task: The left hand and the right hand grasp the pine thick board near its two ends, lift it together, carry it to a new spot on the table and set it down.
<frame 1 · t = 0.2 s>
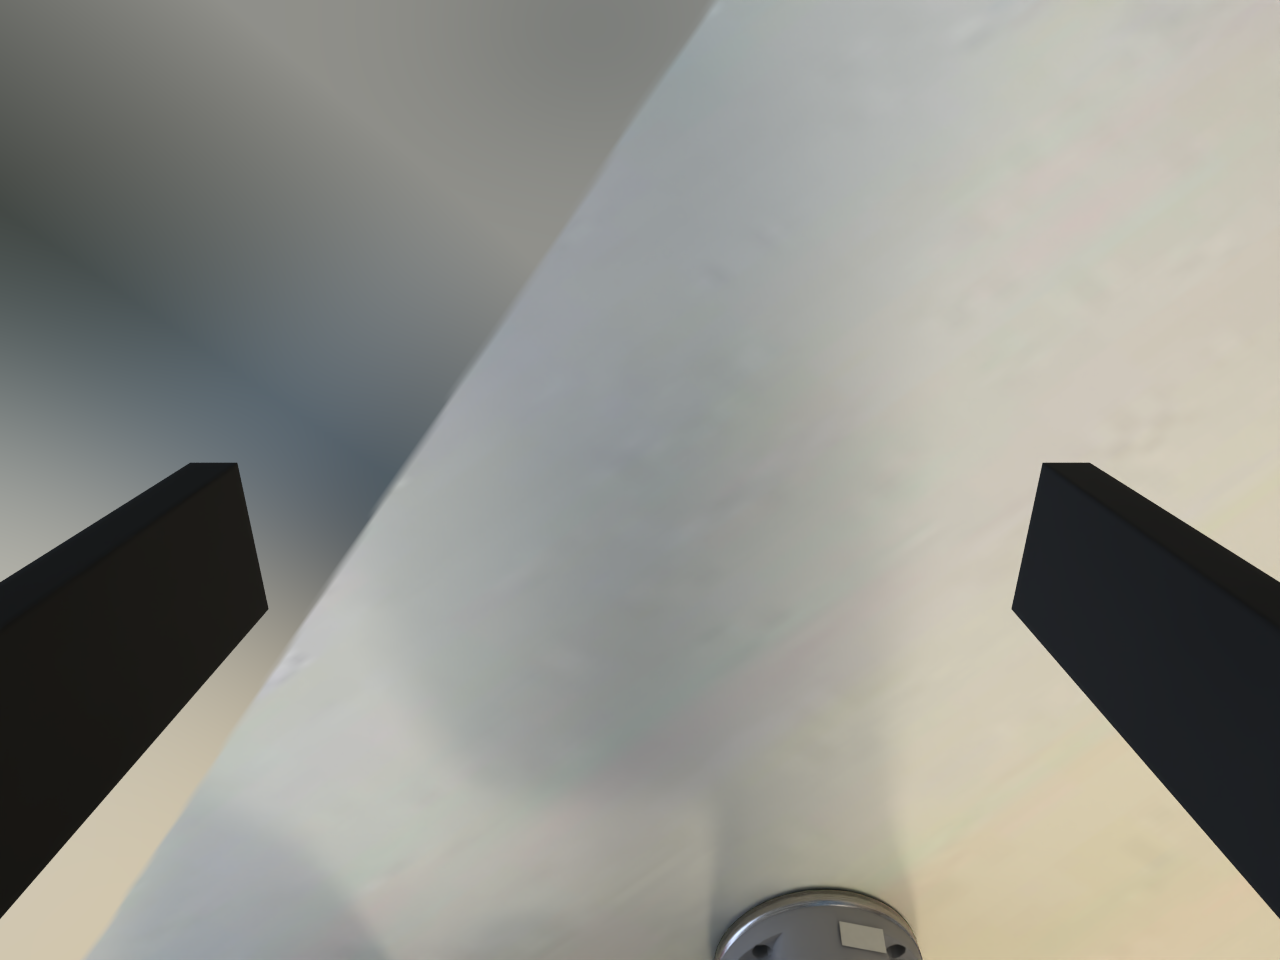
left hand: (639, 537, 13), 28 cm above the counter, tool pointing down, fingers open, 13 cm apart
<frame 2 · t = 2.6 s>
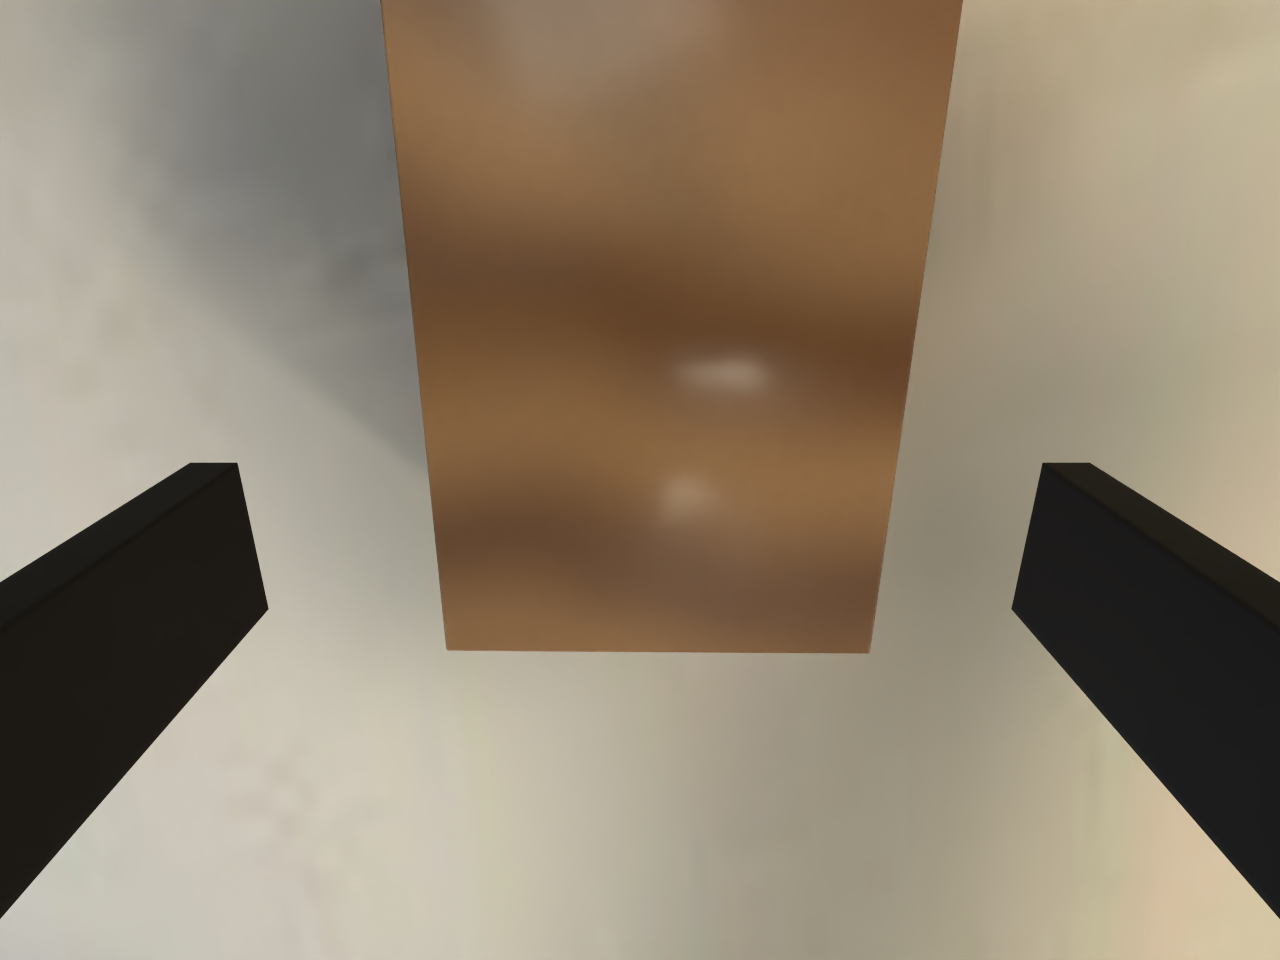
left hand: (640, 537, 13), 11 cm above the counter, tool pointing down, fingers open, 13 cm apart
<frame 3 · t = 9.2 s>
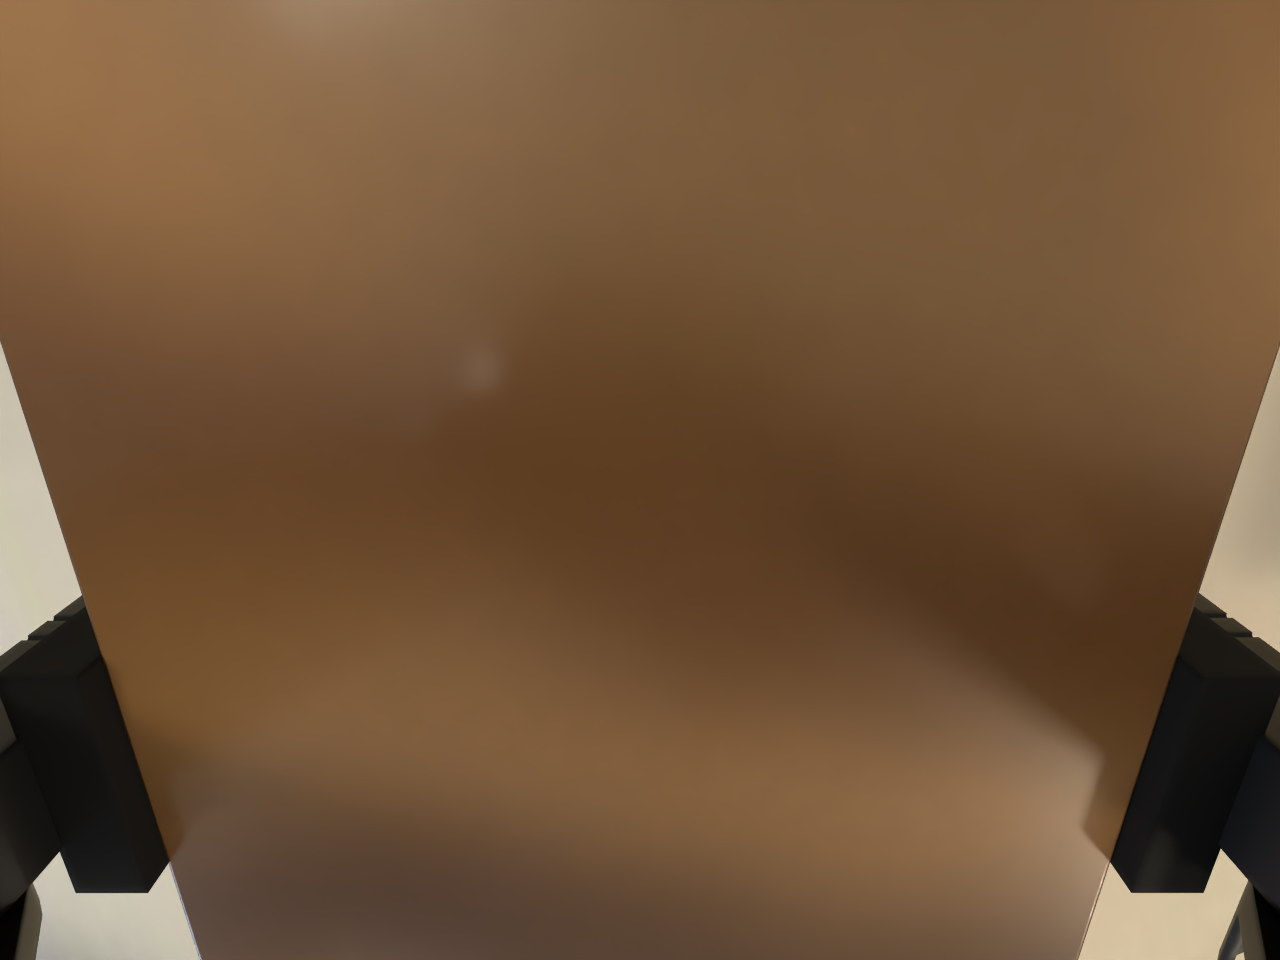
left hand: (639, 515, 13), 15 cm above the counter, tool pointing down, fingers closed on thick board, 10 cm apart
when the left hand's fingers open (2 cm above the counter, at t = 11.2 s): thick board stays where it is, on the counter.
when the right hand's fingers open (2 cm above the counter, at t = 11.2 s): thick board stays where it is, on the counter.
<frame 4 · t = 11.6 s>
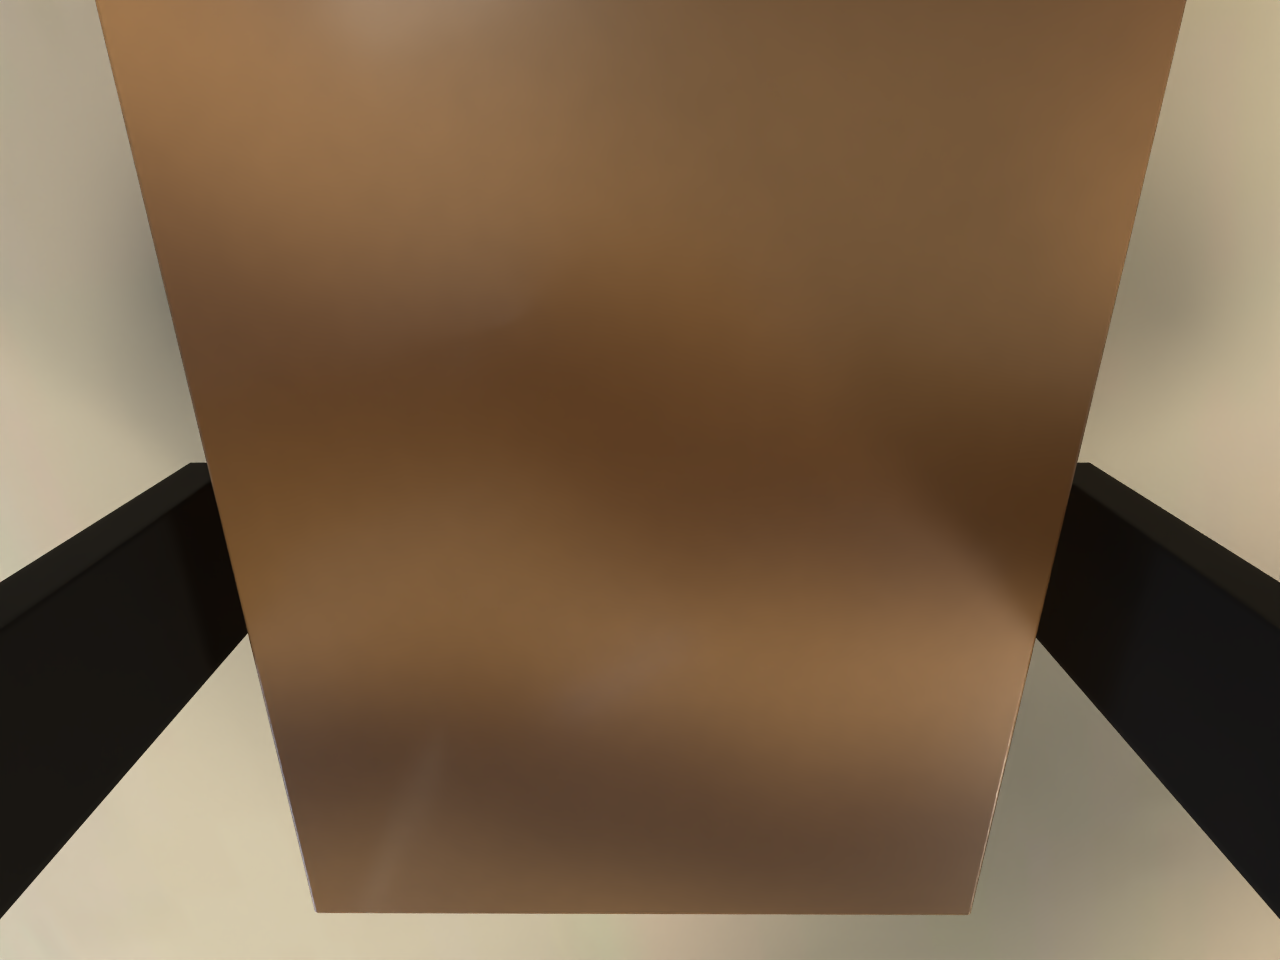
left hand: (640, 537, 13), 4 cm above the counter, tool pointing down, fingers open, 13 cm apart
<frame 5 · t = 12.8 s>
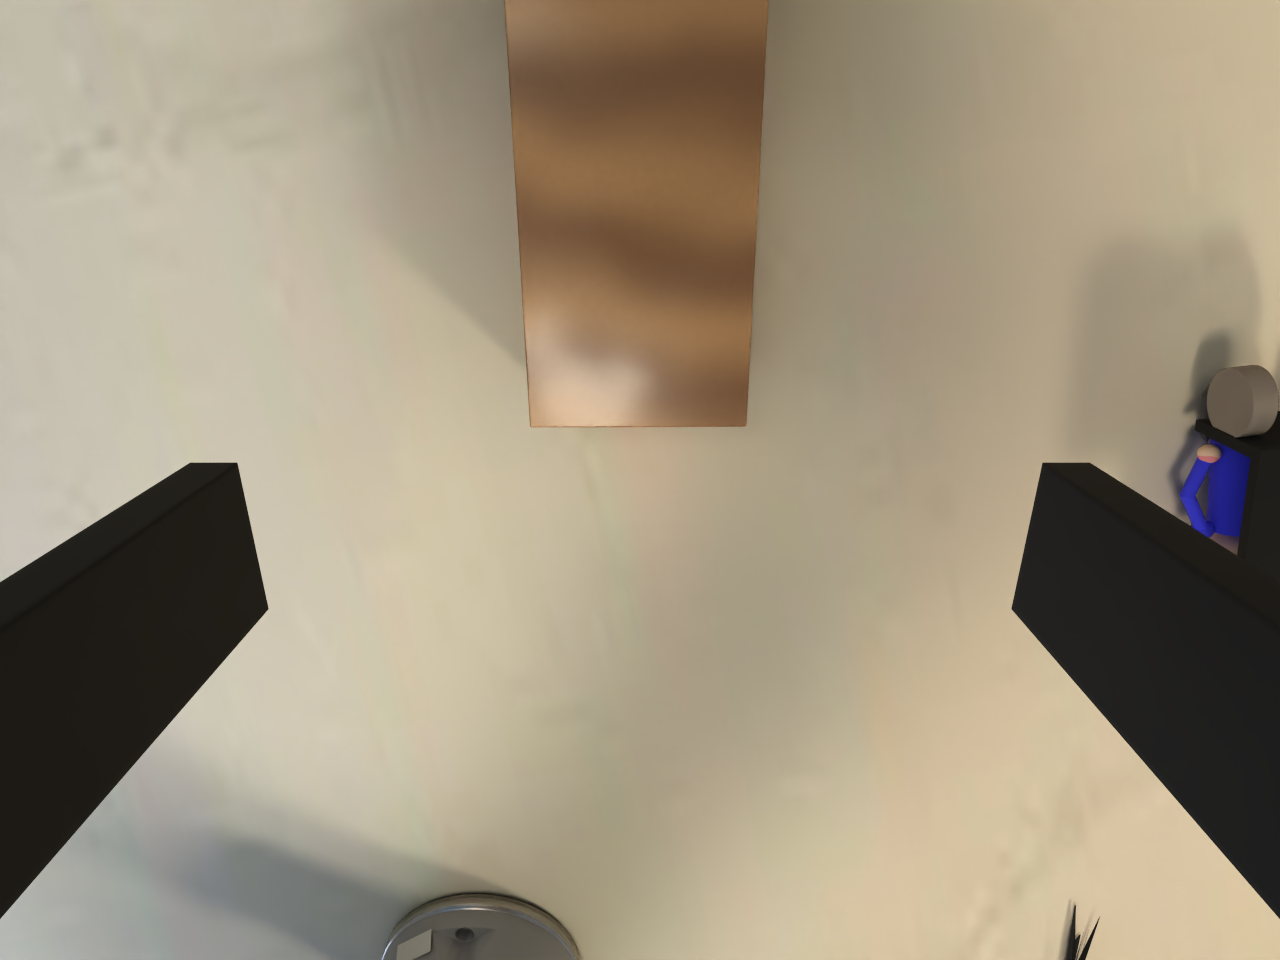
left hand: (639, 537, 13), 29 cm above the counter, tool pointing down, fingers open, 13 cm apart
figurine character: (1215, 472, 44), on the counter
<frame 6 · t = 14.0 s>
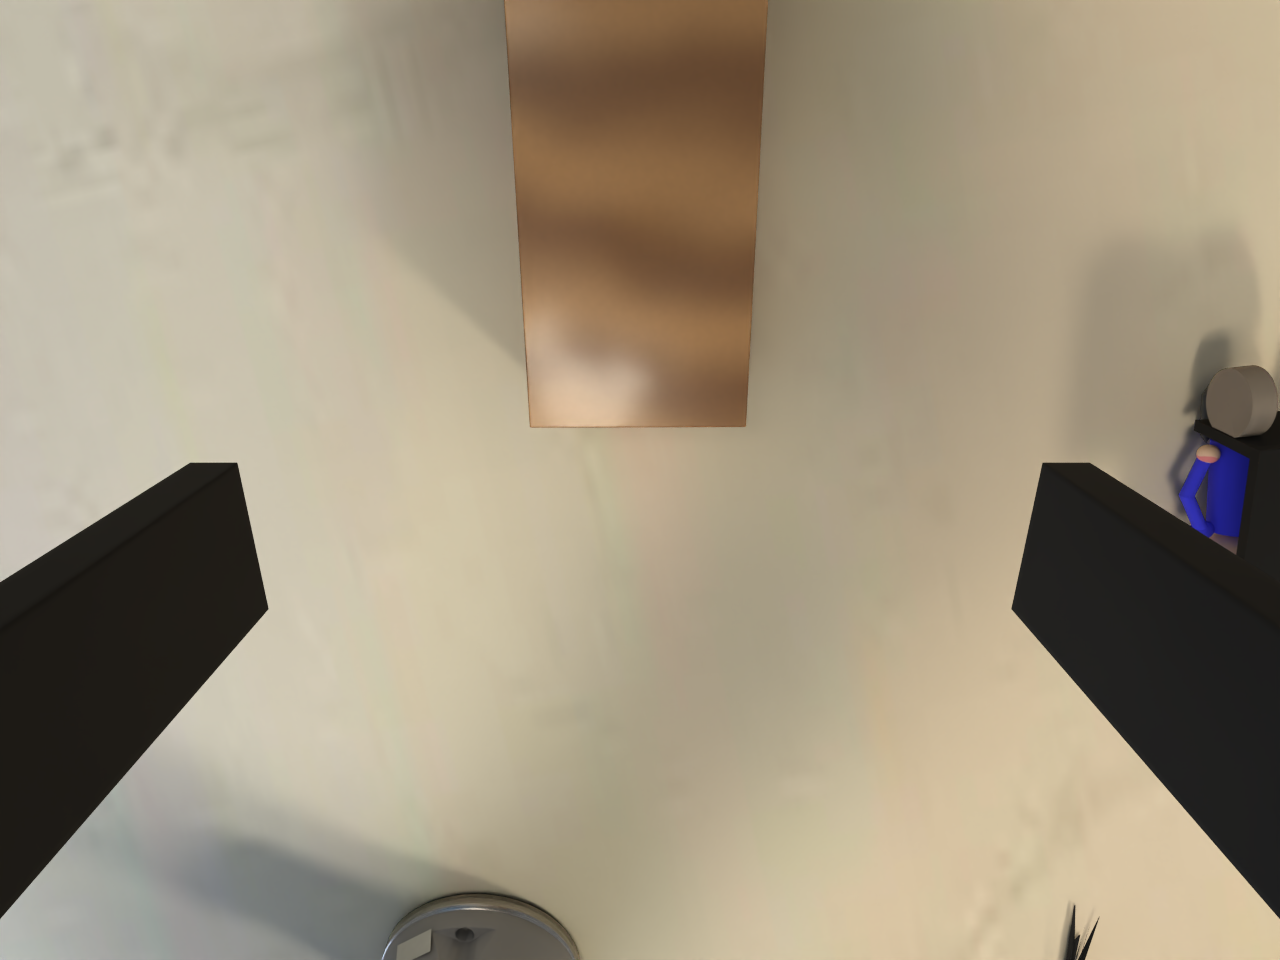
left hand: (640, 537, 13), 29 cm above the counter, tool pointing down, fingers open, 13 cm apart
figurine character: (1214, 472, 44), on the counter
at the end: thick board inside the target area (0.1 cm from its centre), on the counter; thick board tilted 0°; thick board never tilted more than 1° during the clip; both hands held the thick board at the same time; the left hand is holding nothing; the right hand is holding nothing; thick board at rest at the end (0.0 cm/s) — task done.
